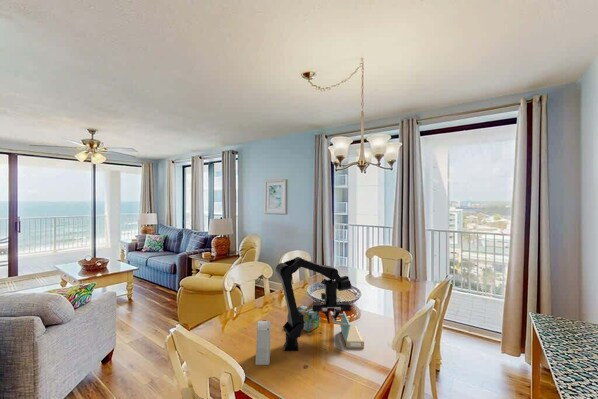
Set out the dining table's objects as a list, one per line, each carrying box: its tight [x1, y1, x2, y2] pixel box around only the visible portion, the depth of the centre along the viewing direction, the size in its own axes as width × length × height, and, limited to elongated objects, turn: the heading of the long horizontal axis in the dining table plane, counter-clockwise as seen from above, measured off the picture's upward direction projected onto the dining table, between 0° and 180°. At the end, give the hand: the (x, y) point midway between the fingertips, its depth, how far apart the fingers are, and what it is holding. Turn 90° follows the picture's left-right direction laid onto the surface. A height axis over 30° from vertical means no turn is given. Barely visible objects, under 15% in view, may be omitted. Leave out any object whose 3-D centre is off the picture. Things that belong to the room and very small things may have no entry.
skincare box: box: [254, 320, 272, 366], centre depth 113 cm, size 8×6×15 cm
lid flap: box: [329, 310, 351, 340], centre depth 132 cm, size 15×7×8 cm
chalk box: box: [297, 304, 322, 333], centre depth 144 cm, size 9×9×15 cm
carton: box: [340, 325, 365, 349], centre depth 132 cm, size 16×8×3 cm, turn 0°
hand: (331, 323), depth 132 cm, fingers open, 2 cm apart
